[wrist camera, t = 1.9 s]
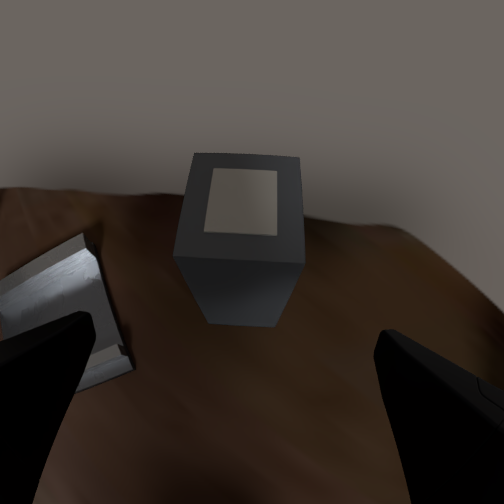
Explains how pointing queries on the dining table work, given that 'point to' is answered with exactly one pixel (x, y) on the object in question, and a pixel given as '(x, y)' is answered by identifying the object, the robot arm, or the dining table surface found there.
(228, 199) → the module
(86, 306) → the din rail
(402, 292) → the dining table surface
